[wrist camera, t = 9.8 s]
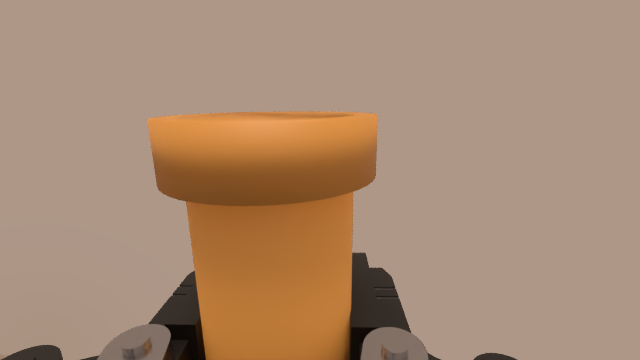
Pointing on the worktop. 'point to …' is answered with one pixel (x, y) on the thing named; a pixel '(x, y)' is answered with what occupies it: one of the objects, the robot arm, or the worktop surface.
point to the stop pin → (269, 224)
